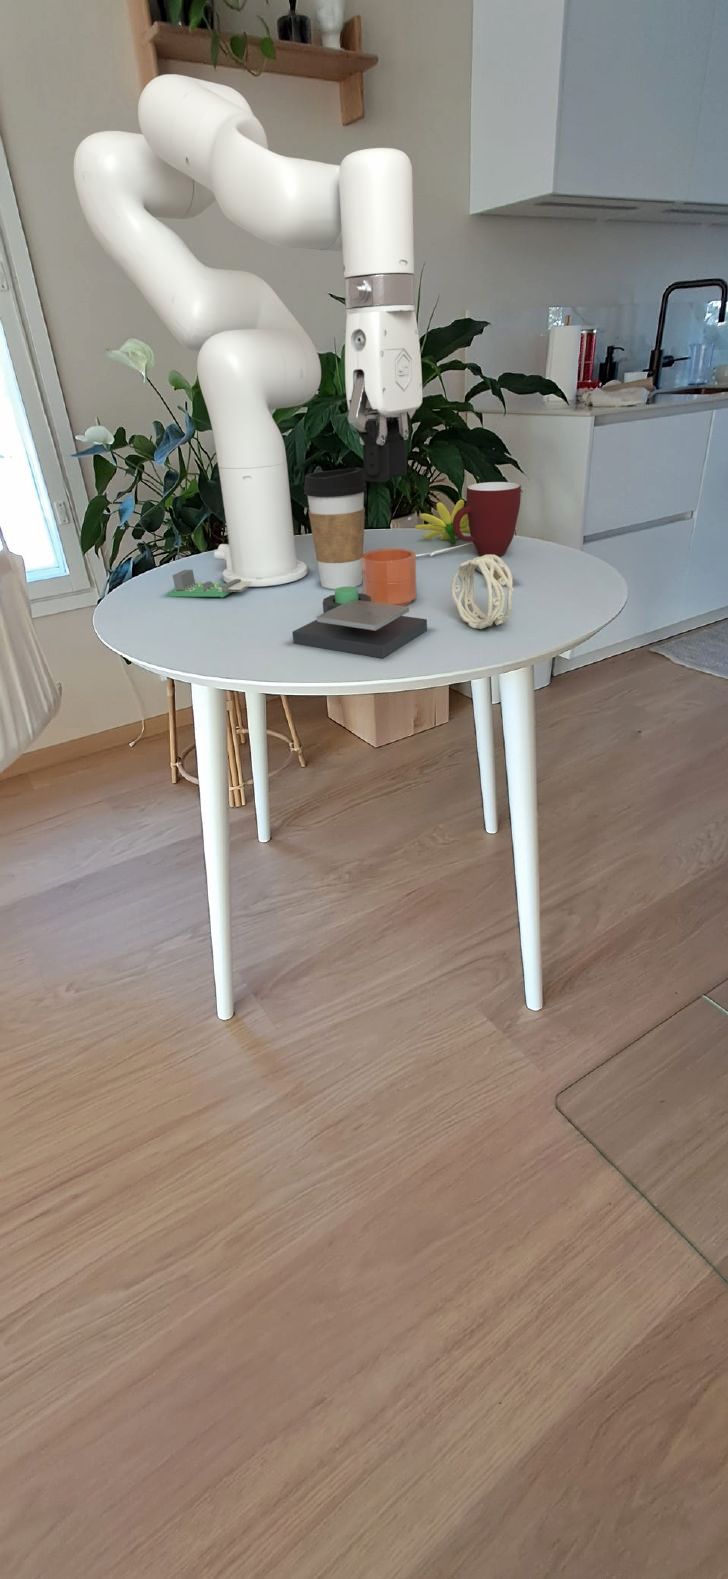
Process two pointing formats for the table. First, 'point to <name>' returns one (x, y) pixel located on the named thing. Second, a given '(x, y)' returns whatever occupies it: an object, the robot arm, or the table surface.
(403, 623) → the scale
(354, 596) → the tare button
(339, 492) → the coffee cup
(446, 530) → the flower
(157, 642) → the table surface
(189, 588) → the circuit board
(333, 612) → the weighing plate
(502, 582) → the bracelet
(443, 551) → the silver knife
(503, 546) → the mug
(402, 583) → the orange cup
